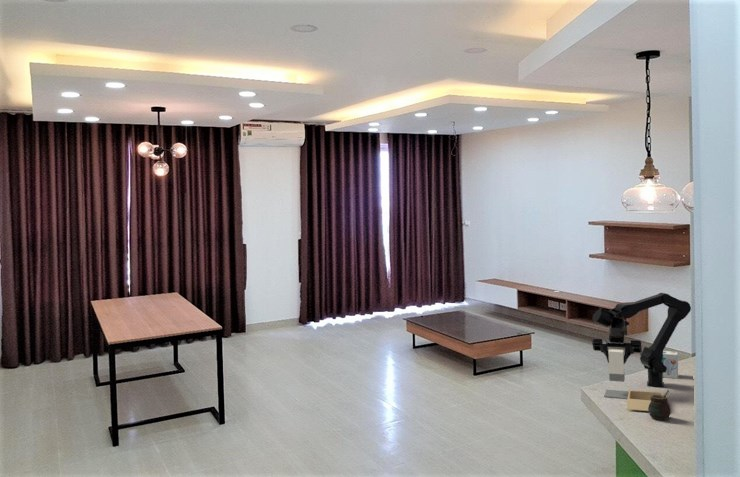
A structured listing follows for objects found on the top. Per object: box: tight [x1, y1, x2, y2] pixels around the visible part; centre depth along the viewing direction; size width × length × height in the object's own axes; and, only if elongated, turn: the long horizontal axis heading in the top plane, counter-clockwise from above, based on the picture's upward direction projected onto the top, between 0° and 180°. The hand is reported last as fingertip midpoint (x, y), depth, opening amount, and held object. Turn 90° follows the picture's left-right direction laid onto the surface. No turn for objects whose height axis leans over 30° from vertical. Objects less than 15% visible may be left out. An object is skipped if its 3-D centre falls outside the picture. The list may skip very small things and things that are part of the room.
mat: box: [603, 389, 629, 400], centre depth 249 cm, size 10×9×1 cm
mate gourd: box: [647, 389, 672, 421], centre depth 219 cm, size 7×8×10 cm
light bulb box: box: [661, 350, 679, 379], centre depth 275 cm, size 11×7×11 cm, turn 62°
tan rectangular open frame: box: [626, 389, 664, 412], centre depth 235 cm, size 19×12×4 cm, turn 154°
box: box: [608, 348, 626, 383], centre depth 249 cm, size 4×6×12 cm
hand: (616, 362), depth 248 cm, fingers closed on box, 5 cm apart
